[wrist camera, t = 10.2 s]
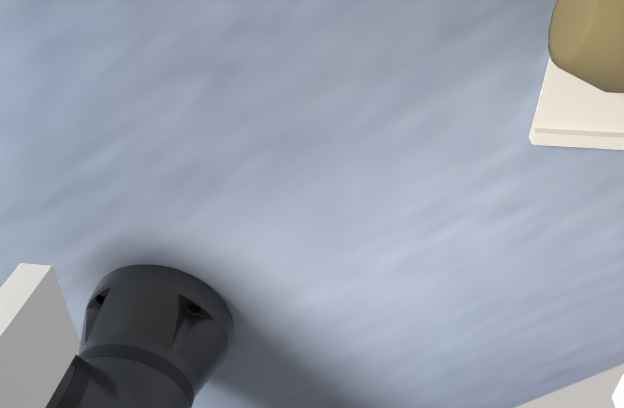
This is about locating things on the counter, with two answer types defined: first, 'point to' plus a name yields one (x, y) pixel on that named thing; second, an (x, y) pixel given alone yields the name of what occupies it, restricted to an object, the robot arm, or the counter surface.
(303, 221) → the counter surface
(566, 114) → the tray
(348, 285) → the counter surface
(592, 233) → the counter surface
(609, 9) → the squeeze bottle
